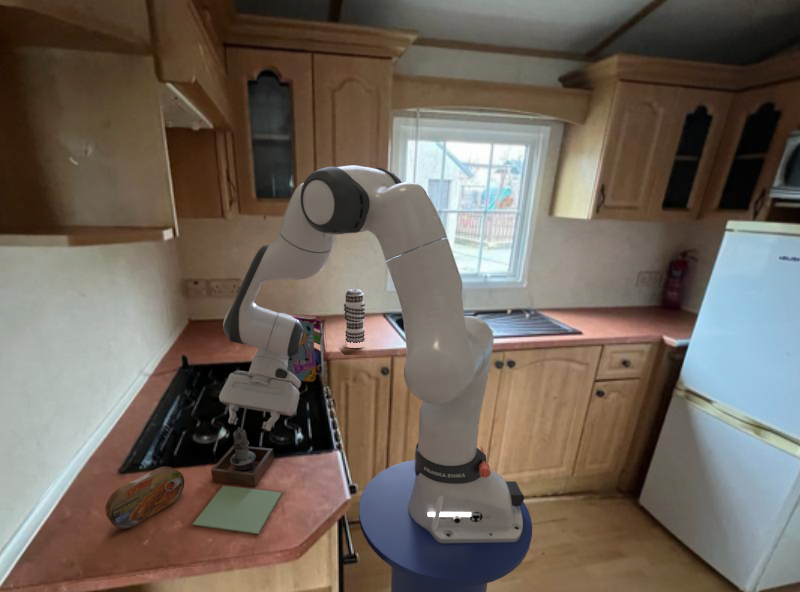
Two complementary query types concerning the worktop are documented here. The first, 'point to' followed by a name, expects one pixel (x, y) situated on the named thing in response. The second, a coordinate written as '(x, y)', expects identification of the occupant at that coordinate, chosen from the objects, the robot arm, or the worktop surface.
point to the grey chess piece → (242, 453)
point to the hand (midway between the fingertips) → (248, 427)
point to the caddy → (240, 477)
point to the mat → (238, 509)
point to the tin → (144, 497)
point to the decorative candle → (354, 316)
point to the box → (309, 351)
